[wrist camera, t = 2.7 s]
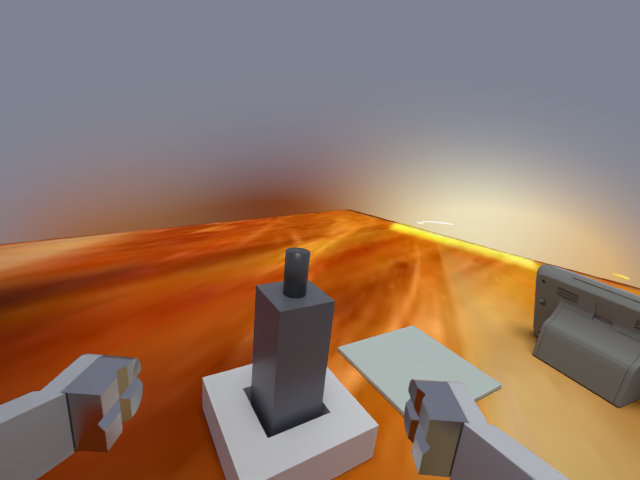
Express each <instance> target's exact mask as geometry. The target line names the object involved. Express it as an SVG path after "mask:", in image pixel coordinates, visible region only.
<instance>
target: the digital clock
mask: <svg viewBox="0 0 640 480" xmlns="http://www.w3.org/2000/svg"><path fill="white" fill-rule="evenodd" d="M533 328H534V332H535V334H536V335H537V336H538V339H537V342H536V345H535V348H534V351H533V355H534V356H536V357H537V358H539V359H540V360H542V361H544V362H545V363H547V364H549V365H550V366H552V367H553V368H555V369H557V370H558V371H560V372H561V373H563V374H565V375H566V376H568V377H570V378H571V379H573V380H574V381H576V382H578V383H579V384H581V385H583V386H584V387H586V388H587V389H589V390H591V391H592V392H594V393H596V394H597V395H599V396H600V397H602V398H604V399H605V400H607V401H608V402H610V403H612V404H613V405H615V406H617V407H618V408H621V407H623V406H625V405H627V404H629V403H632V402H634V401H636V400H638V399H640V296H639V295H636V294H633V293H630V292H627V291H625V290H622V289H619V288H616V287H613V286H610V285H608V284H605V283H602V282H599V281H596V280H594V279H591V278H588V277H585V276H582V275H580V274H577V273H574V272H571V271H568V270H565V269H562V268H559V267H555V266H551V265H542V266H541V267H539V269H538V271H537V277H536V291H535V307H534V323H533Z"/></svg>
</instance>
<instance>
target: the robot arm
mask: <svg viewBox="0 0 640 480" xmlns="http://www.w3.org/2000/svg"><path fill="white" fill-rule="evenodd" d="M140 371H141V364H140V360H138V359H137V358H130V357H120V356H109V355H97V354H84V355H81V356H80V357H79V358H78V359H77V360H76V361H74V362H73V363H72V364H71V365H70V366H69V367H67V368H66V369H65V370H64V371H63V372H62V373H60V374H59V375H58V376H57V377H56V378H55V379H53V380H52V381H51V382H50V383H49V384H48V385H46V386H45V387H44V388H43V389H42V390H41V391H33V392H30V393H28V394H26V395H23V396H21V397H18V398H16V399H14V400H11V401H9V402H6V403H4V404H2V405H0V480H36V479H38V478H39V477H41V476H42V475H43V474H45V473H46V472H48V471H49V470H51V469H52V468H53V467H55V466H56V465H58V464H59V463H60V462H62V461H63V460H65V459H66V458H68V457H69V456H70V455H72V454H73V453H74V451H94V452H108V451H109V449H110V448H111V447H112V445H113V444H114V442H115V441H116V440H117V438H118V437H119V435H120V434H121V432H122V431H123V430H122V423H124V422H126V421H127V420H129V419H131V418H132V417H133V415H134V414H135V412H136V411H137V409H138V407H139V404H140V402H141V399H142V392H143V386H142V382H141V381H140V380H139V379H138V377H137V375H138V374H139V373H140ZM408 392H409V395H410V399H409V400H408V401H407V402H406V404H405V411H404V423H405V429H406V433H407V437H408V439H409V440H410V441H411V442H412V443H413V448H412V454H413V457H414V461H415V464H416V467H417V471H418V474H421V475H431V476H440V477H450V480H569V479H568V478H567V477H565V476H564V475H563V474H561V473H560V472H558V471H557V470H556V469H554V468H553V467H551V466H550V465H549V464H547V463H546V462H545V461H543V460H542V459H540V458H539V457H538V456H536V455H535V454H534V453H532V452H531V451H529V450H528V449H527V448H525V447H524V446H522V445H521V444H520V443H518V442H517V441H516V440H514V439H513V438H511V437H510V436H509V435H507V434H506V433H504V432H503V431H502V430H500V429H499V428H498V427H496V426H495V425H489V424H488V422H487V421H486V419H485V417H484V416H483V414H482V412H481V411H480V409H479V407H478V406H477V404H476V402H475V401H474V399H473V397H472V396H471V394H470V393H469V391H468V389H467V388H466V386H465V384H464V383H462V382H455V381H444V382H443V381H430V380H415V379H411V381H410V383H409V388H408Z"/></svg>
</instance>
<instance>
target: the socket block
mask: <svg viewBox="0 0 640 480" xmlns="http://www.w3.org/2000/svg"><path fill="white" fill-rule="evenodd" d="M251 384H252V364H250V365H246V366H243V367H239V368H235V369H232V370H228V371H225V372H221V373H217V374H214V375H210V376H207V377H203V378H202V408H203V411H204V414H205V417H206V420H207V423H208V426H209V429H210V432H211V435H212V439H213V442H214V445H215V448H216V451H217V454H218V457H219V460H220V463H221V466H222V469H223V472H224V475H225V478H226V480H332V479H334V478H335V477H337V476H339V475H341V474H343V473H345V472H346V471H348V470H350V469H352V468H354V467H356V466H358V465H359V464H361V463H363V462H365V461H367V460H369V459H371V458H372V457H373V453H374V448H375V442H376V437H377V432H378V426H379V425H378V424H377V423H376V422H375V421H374V419H373V418H372V417H371V416H370V415H369V414H368V413H367V412H366V410H365V409H364V408H363V407H362V406H361V405H360V404H359V403H358V401H357V400H356V399H355V398H354V397H353V396H352V395H351V394H350V392H349V391H348V390H347V389H346V388H345V387H344V386H343V384H342V383H341V382H340V381H339V380H338V379H337V378H336V377H335V375H334V374H333V373H332V372H331V371H330V370H329V369H328V368H327V369H326V377H325V386H324V394H323V402H322V410H321V417H318V418H316V419H313V420H311V421H309V422H306V423H304V424H301V425H299V426H296V427H294V428H292V429H289V430H287V431H284V432H282V433H279V434H277V435H275V436H272V437H270V438H267V436H266V434H265V432H264V430H263V428H262V426H261V424H260V422H259V420H258V418H257V416H256V414H255V412H254V410H253V408H252V406H251Z"/></svg>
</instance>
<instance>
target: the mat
mask: <svg viewBox="0 0 640 480" xmlns="http://www.w3.org/2000/svg"><path fill="white" fill-rule="evenodd" d="M338 351H339V352H340V353H341V354H342V355H343V356H344V357H345V358H346V359H347V360H348V361H349V362H350V363H351V364H352V365H353V366H354V367H355V368H356V369H357V370H358V371H359V372H360V373H361V374H362V375H363V376H364V377H365V378H366V379H367V380H368V381H369V382H370V383H371V384H372V385H373V386H374V387H375V388H376V389H377V390H378V391H379V392H380V393H381V394H382V395H383V396H384V397H385V398H386V399H387V400H388V401H389V402H390V403H391V404H392V405H393V406H394V407H395V408H396V409H397V410H398V411H399V412H400V413H401V414H402V415H403V416H404V411H405V404H406V402H407V401H408V400H409V399H410V395H409V392H408V388H409V383H410V381H411V379H415V380H430V381H443V382H444V381H455V382H462V383H464V384H465V386H466V388H467V389H468V391H469V393H470V394H471V396H472V397H473V399H474V401H475V402H476V401H478V400H479V399H481V398H483V397H485V396H487V395H489V394H491V393H492V392H494V391H496V390H498V389H500V388H501V386H502V384H500V383H499V382H497V381H496V380H494V379H493V378H491V377H490V376H488V375H487V374H485V373H484V372H482V371H481V370H479V369H478V368H476V367H475V366H473V365H472V364H470V363H469V362H467V361H466V360H464V359H463V358H461V357H460V356H458V355H457V354H455V353H454V352H452V351H451V350H449V349H448V348H446V347H445V346H444V345H442V344H441V343H439V342H438V341H436V340H435V339H433V338H432V337H430V336H429V335H427V334H426V333H424V332H423V331H421V330H420V329H418V328H417V327H415V326H414V325H412V326H409V327H406V328H402V329H399V330H395V331H392V332H388V333H385V334H382V335H378V336H375V337H371V338H368V339H364V340H361V341H357V342H354V343H351V344H347V345H344V346H340V347H338Z"/></svg>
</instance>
